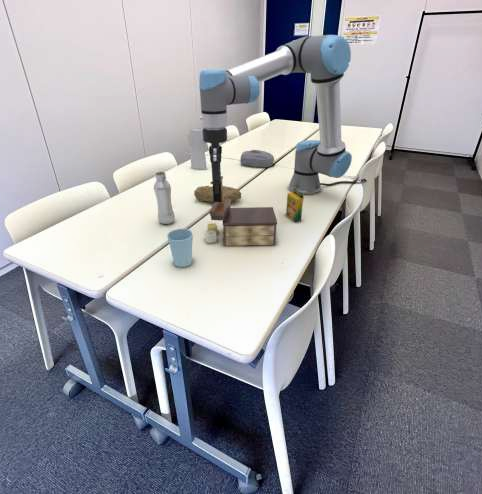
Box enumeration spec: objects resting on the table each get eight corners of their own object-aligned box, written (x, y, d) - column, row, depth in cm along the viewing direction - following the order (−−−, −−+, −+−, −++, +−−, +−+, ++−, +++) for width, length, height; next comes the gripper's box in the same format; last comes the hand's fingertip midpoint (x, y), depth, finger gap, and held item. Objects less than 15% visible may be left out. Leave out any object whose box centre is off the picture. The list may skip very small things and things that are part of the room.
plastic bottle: (161, 227, 124) (154, 177, 114) (156, 220, 129) (149, 172, 119) (177, 223, 127) (171, 174, 116) (172, 217, 132) (166, 169, 121)
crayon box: (285, 215, 133) (287, 188, 127) (291, 213, 134) (293, 187, 128) (294, 222, 127) (297, 194, 121) (301, 221, 128) (304, 193, 122)
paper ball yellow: (207, 223, 120) (207, 231, 121) (207, 228, 117) (208, 235, 118) (216, 222, 120) (216, 230, 122) (217, 227, 117) (217, 234, 119)
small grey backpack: (238, 166, 190) (270, 170, 184) (237, 152, 185) (271, 155, 179) (246, 159, 202) (277, 162, 196) (246, 146, 197) (277, 148, 192)
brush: (231, 207, 116) (229, 171, 109) (224, 221, 107) (222, 182, 100) (217, 206, 117) (214, 171, 110) (210, 220, 108) (206, 182, 101)
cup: (166, 261, 104) (162, 233, 98) (186, 253, 108) (183, 226, 102) (178, 272, 99) (175, 243, 93) (199, 263, 103) (197, 235, 98)
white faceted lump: (204, 231, 114) (205, 239, 116) (207, 236, 111) (207, 244, 113) (214, 229, 115) (214, 237, 117) (217, 234, 113) (217, 242, 114)
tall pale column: (189, 168, 187) (185, 129, 176) (192, 166, 190) (189, 127, 179) (205, 170, 184) (202, 130, 172) (208, 168, 187) (206, 129, 175)
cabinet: (271, 228, 123) (272, 207, 118) (276, 246, 111) (277, 223, 107) (223, 229, 123) (223, 207, 118) (223, 247, 111) (222, 224, 106)
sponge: (193, 204, 145) (229, 204, 135) (190, 187, 143) (228, 186, 133) (210, 200, 156) (245, 199, 146) (208, 183, 154) (244, 182, 144)
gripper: (203, 123, 104) (207, 191, 116) (200, 133, 91) (205, 209, 103) (227, 122, 104) (228, 191, 116) (226, 133, 91) (228, 209, 103)
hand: (217, 199), depth 109 cm, fingers closed on brush, 2 cm apart
